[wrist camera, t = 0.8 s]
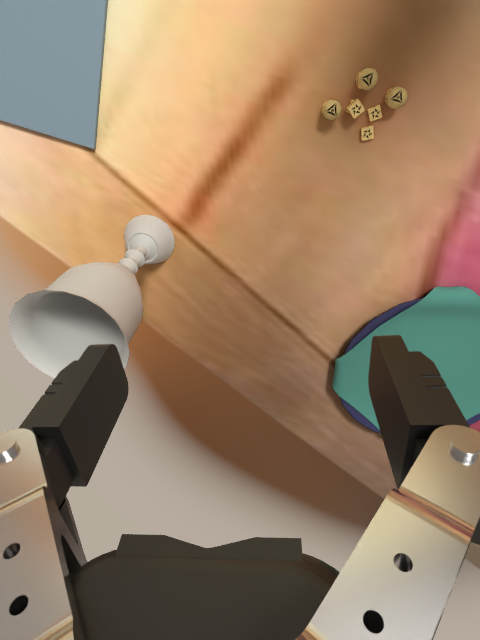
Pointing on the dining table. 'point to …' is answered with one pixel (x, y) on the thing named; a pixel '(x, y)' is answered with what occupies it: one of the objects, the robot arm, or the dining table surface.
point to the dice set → (366, 82)
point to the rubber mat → (52, 66)
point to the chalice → (90, 303)
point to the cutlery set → (427, 337)
